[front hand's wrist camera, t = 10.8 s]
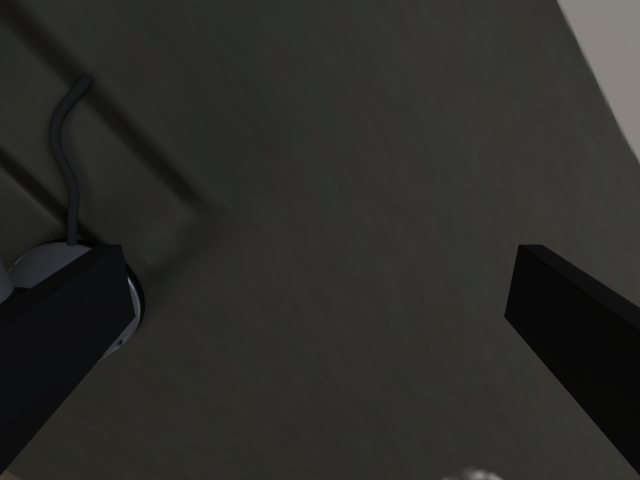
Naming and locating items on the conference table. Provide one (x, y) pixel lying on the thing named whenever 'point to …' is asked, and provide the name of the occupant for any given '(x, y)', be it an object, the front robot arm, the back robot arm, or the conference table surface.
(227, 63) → the conference table surface
